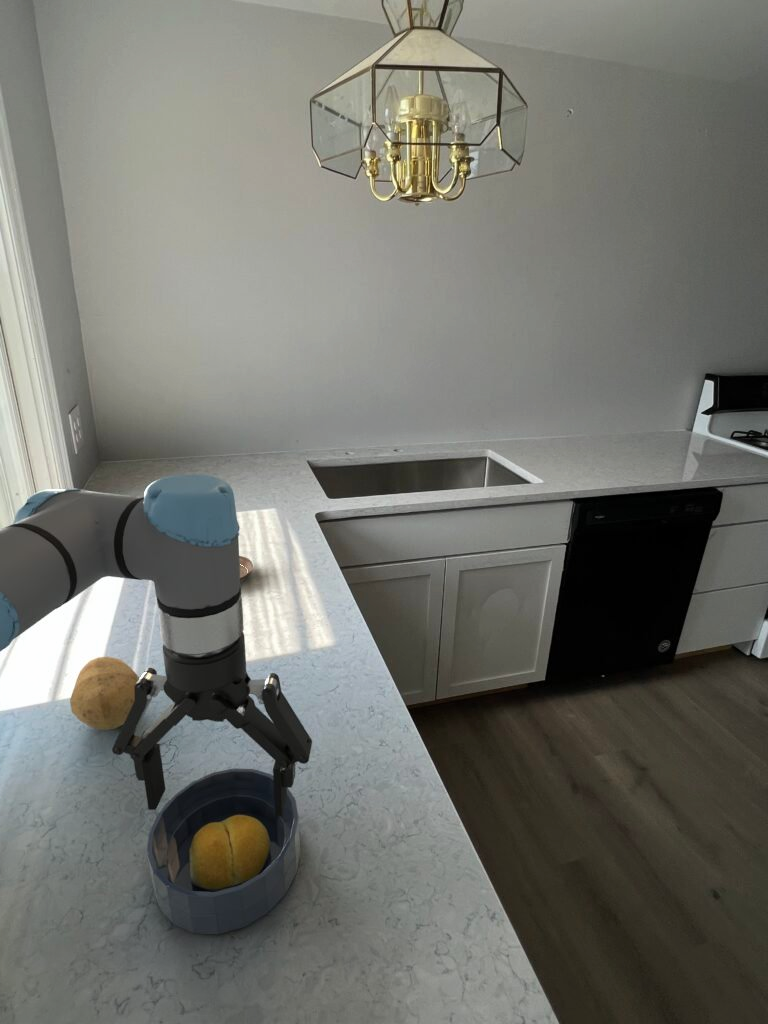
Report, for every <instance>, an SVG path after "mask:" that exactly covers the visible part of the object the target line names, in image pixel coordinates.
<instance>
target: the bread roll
mask: <svg viewBox="0 0 768 1024" xmlns="http://www.w3.org/2000/svg"><path fill="white" fill-rule="evenodd" d="M269 851H270V839H269V835H268V832H267V830H266V828H265V827H264V825H263V824H262V823H261V822H260V821H259V820H257V819H255V818H253V817H250V816H246V815H235V816H232V817H229V818H227V819H225V820H223V821H221V822H214V823H209V824H207V825H205V826H203V827H202V828H201V829H200V830H199V831H198V832H197V833H196V834H195V835H194V838H193V840H192V843H191V847H190V852H189V868H190V871H189V872H190V876H191V882H192V884H194V885H196V886H198V887H200V888H203V889H206V890H209V891H218V890H223V889H226V888H229V887H232V886H234V885H237V884H243V883H245V882H247V881H248V880H250V879H252V878H254V877H255V876H257V875H259V873H260V872H261V870H262V868H263V866H264V865H265V863H266V860H267V858H268V855H269Z"/></svg>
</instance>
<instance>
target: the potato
mask: <svg viewBox="0 0 768 1024" xmlns="http://www.w3.org/2000/svg"><path fill="white" fill-rule="evenodd" d="M139 679H140V677H139V676H138V674H137V673H136V672H135V670H133V669H132V667H131V666H129V665H128V664H127V663H126V662H125V661H123V660H122V659H121V658H116V657H112V656H101V657H96V658H93V659H90V660H89V661H88V662H87V663H86V664H85V665H84V666H83V667H82V668H81V670H80V671H79V673H78V675H77V678H76V680H75V683H74V687H73V690H72V693H71V696H70V699H69V703H70V710H71V713H72V714H73V715H74V716H75V718H77V719H78V721H80V722H81V723H83V724H85V725H86V726H88V727H89V728H93V729H97V730H100V731H107V730H108V731H109V730H116V729H118V728H119V727H121V726H123V724H124V722H125V720H126V718H127V716H128V714H129V712H130V710H131V707H132V705H133V703H134V701H135V691H134V687H135V684H136V683H137V681H138V680H139Z"/></svg>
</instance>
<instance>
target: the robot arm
mask: <svg viewBox="0 0 768 1024" xmlns="http://www.w3.org/2000/svg"><path fill="white" fill-rule="evenodd" d="M240 529H241V528H240V524H239V522H238V517H237V507H236V501H235V495H234V490H233V488H232V486H231V485H230V484H229V483H228V482H227V481H225V480H224V479H222V478H220V477H217V476H214V475H210V474H202V473H201V474H198V473H194V474H188V475H187V474H176V475H169V476H165V477H161V478H159V479H157V480H155V481H153V482H150V484H148V486H147V487H146V488H145V490H144V493H143V497H142V496H134V495H126V494H116V493H108V492H99V491H91V490H88V489H85V488H81V489H79V488H67V489H61V488H59V489H58V488H50V489H49V488H48V489H43V490H40V491H37V492H35V493H33V494H31V495H30V496H29V497H28V498H27V499H26V502H25V504H24V505H22V507H20V508H19V509H18V510H17V512H16V514H15V515H14V520H13V524H9V525H8V526H5V527H3V528H1V529H0V652H2V651H3V650H5V649H6V648H7V647H9V646H10V645H11V644H12V642H13V641H14V640H15V639H16V638H18V637H19V636H21V635H22V634H23V633H25V632H26V631H27V630H30V628H32V627H33V626H34V625H36V624H37V623H38V622H40V621H42V619H44V618H46V617H47V616H48V615H49V614H51V613H53V612H54V611H55V610H57V609H59V608H61V607H62V606H63V605H65V604H67V603H69V602H70V601H71V600H73V599H74V598H76V597H77V596H78V595H80V594H81V593H83V592H84V591H86V590H87V589H88V588H90V587H91V586H92V585H94V584H95V583H97V582H98V581H100V580H101V579H103V578H107V577H111V578H120V579H128V580H138V581H144V580H145V581H151V582H153V586H154V592H155V598H156V603H157V611H158V621H159V631H160V640H161V643H162V654H163V655H162V656H163V663H164V671H165V675H161V674H158V673H157V670H156V669H155V668H154V667H146V669H145V670H144V671H143V673H142V674H141V676H140V677H139V680H138V681H137V683H136V684H135V687H134V691H135V701H134V703H133V705H132V707H131V710H130V712H129V714H128V716H127V718H126V720H125V722H124V724H123V725H122V727H121V729H120V731H119V733H118V735H117V737H116V739H115V741H114V743H113V745H112V748H111V752H112V753H113V754H114V755H116V756H121V755H123V754H126V755H129V756H130V759H132V760H133V765H134V773H135V777H136V779H137V780H138V781H141V782H144V788H145V794H146V801H147V808H148V810H149V811H156V810H157V808H158V806H159V804H160V802H161V800H162V798H163V796H164V794H165V791H166V784H165V783H166V782H165V776H164V769H163V761H162V754H161V746H160V743H159V742H160V741H161V739H163V738H164V737H165V736H166V734H168V732H169V731H170V730H171V729H173V727H176V726H177V725H178V724H179V723H180V722H181V721H182V720H183V719H184V718H185V717H186V716H187V717H188V718H191V720H192V721H196V722H201V721H206V720H207V721H208V720H209V721H212V722H217V723H219V722H220V723H223V722H224V721H225V720H226V721H227V722H228V723H229V724H230V725H232V726H233V727H234V728H235V729H237V730H239V729H241V730H242V731H243V732H244V733H245V734H246V735H247V736H248V737H249V738H250V739H252V740H253V741H254V742H255V743H256V744H257V745H258V746H259V747H260V748H261V749H262V750H263V751H265V753H266V754H268V755H269V756H270V757H271V758H272V759H273V760H274V763H273V766H272V767H273V768H272V775H273V781H274V804H275V816H282V814H283V810H284V805H285V801H286V797H287V787H288V788H293V786H294V782H295V777H296V763H299V764H303V765H304V764H307V763H309V761H310V757H311V752H312V746H313V740H312V738H311V737H310V735H309V733H308V732H307V731H306V728H305V726H304V725H303V723H302V722H301V721H300V719H299V717H298V716H297V713H295V711H294V710H293V708H292V706H291V704H290V703H289V701H288V699H287V698H286V696H285V695H284V693H283V692H282V687H281V682H280V677H279V675H278V674H277V673H274V672H271V673H269V674H268V675H267V676H266V678H263V679H262V678H261V679H252V678H251V677H250V676H249V674H248V672H247V655H246V641H245V639H246V638H245V633H244V630H245V629H244V628H245V627H244V610H243V593H242V585H241V582H240V564H239V556H240V545H239V544H240V541H239V536H240ZM161 691H163V692H164V694H165V695H166V696H167V697H168V699H170V700H171V701H172V703H171V704H170V706H168V707H167V709H166V710H165V711H164V712H163V713H162V714H160V716H158V718H157V719H156V720H155V721H154V722H153V723H152V724H151V725H150V726H149V727H148V728H147V729H146V730H145V731H143V732H142V734H141V736H138V735H135V734H136V732H137V730H138V728H139V727H140V724H141V722H142V720H143V718H144V715H145V714H146V711H147V710H148V708H149V705H150V704H151V702H152V699H153V698H156V697H157V696H158V695H159V694H160V692H161ZM250 695H253V696H255V697H256V698H257V700H258V704H259V705H263V707H264V710H265V712H266V714H267V715H268V716H267V715H266V714H264V712H262V710H260V709H259V708H258V707H257V705H256V704H255V700H254V699H253V698H252V696H250ZM238 709H239V710H238ZM268 717H269V718H268Z"/></svg>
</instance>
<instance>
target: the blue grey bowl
mask: <svg viewBox="0 0 768 1024" xmlns="http://www.w3.org/2000/svg"><path fill="white" fill-rule="evenodd" d="M235 815H246V816H250V817H253V818H255V819H257V820H259V821H260V822H261V823H262V824H263V825H264V827H265V828H266V830H267V832H268V835H269V839H270V851H269V855H268V858H267V860H266V863H265V865H264V866H263V868H262V870H261V872H260V873H259V875H257V876H255V877H254V878H252V879H250V880H248V881H247V882H245V883H243V884H237V885H234V886H232V887H229V888H226V889H223V890H218V891H209V890H206V889H203V888H200V887H198V886H196V885H194V884H192V882H191V876H190V872H189V871H190V868H189V852H190V847H191V843H192V840H193V838H194V835H195V834H196V833H197V832H198V831H199V830H200V829H201V828H202V827H203V826H205V825H207V824H209V823H214V822H221V821H223V820H225V819H227V818H229V817H232V816H235ZM300 838H301V837H300V819H299V812H298V807H297V800H296V798H295V796H294V795H293V794H292V792H291V790H290V789H289V787H287V797H286V801H285V805H284V810H283V814H282V816H275V804H274V781H273V774H271V773H268V772H265V771H262V770H258V769H256V768H235V767H234V768H229V769H223V770H219V771H213V772H211V773H209V774H206V775H204V776H202V777H199V778H198V779H195V780H193V781H191V782H190V783H188V784H187V785H186V786H184V787H183V788H181V789H180V790H178V791H177V792H176V793H175V794H173V795H172V796H171V797H170V799H169V800H168V801H167V802H165V805H164V806H163V807H162V808H161V809H160V810H159V811H158V813H157V815H156V817H155V819H154V821H153V823H152V824H151V827H150V830H149V833H148V838H147V848H146V856H147V861H148V867H149V874H150V879H151V884H152V889H153V893H154V896H155V899H156V903H157V907H158V909H159V911H161V912H162V913H163V915H164V916H165V917H166V918H167V919H168V920H169V921H170V922H171V923H172V924H173V925H174V926H176V927H179V928H181V929H183V930H185V931H188V932H190V933H192V934H203V935H205V934H206V935H219V934H220V935H221V934H224V933H228V932H231V931H235V930H238V929H242V928H245V927H247V926H249V925H250V924H252V923H253V922H255V921H257V920H259V919H260V918H261V917H262V918H263V917H264V916H265V915H267V914H269V912H270V911H271V910H272V909H273V908H274V907H275V906H276V905H277V904H278V903H279V902H280V901H281V899H282V898H283V897H284V896H285V895H286V894H287V892H288V890H289V888H290V886H291V884H292V882H293V880H294V879H295V877H296V875H297V872H298V868H299V867H298V866H299V861H300V856H301V841H300V840H301V839H300Z"/></svg>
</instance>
